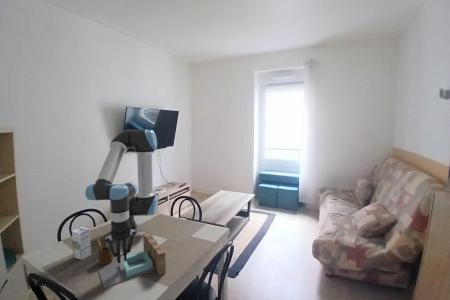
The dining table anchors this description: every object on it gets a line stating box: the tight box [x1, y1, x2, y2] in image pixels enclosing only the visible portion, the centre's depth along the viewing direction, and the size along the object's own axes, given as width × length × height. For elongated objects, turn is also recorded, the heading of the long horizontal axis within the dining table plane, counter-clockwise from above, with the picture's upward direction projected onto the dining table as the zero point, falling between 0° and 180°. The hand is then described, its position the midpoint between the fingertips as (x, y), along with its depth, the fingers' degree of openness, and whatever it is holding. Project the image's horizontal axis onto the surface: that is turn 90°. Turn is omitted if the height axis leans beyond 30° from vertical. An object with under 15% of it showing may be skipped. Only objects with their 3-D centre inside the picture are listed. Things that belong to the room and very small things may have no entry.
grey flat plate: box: [98, 259, 156, 289], centre depth 107 cm, size 14×22×1 cm, turn 126°
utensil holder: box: [97, 238, 114, 266], centre depth 113 cm, size 6×6×12 cm
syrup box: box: [71, 226, 92, 261], centre depth 117 cm, size 6×6×14 cm
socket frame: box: [124, 250, 153, 277], centre depth 109 cm, size 12×12×3 cm
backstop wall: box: [142, 231, 167, 276], centre depth 114 cm, size 24×3×10 cm, turn 36°
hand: (122, 268), depth 105 cm, fingers closed
